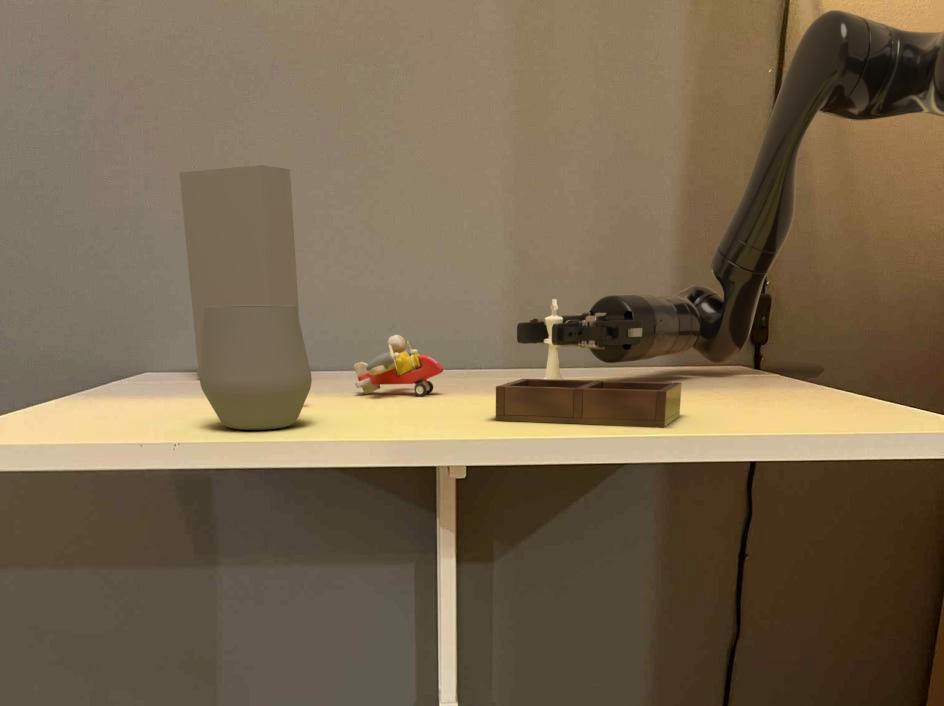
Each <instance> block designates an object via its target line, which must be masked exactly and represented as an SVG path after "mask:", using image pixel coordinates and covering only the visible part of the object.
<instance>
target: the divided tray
mask: <svg viewBox="0 0 944 706" xmlns="http://www.w3.org/2000/svg"><path fill="white" fill-rule="evenodd" d="M681 400H682V382H677V381H675V382H672V381H638V380H637V381H636V380H635V381H633V380H629V381H628V380H597V379H596V380H595V379H593V380H592V379H562V380H559V379H542V378H521V379H517V380H514V381H513V380H512V381H510V382H507V383H502V384H499V385H496V386H495V421H502V422H526V423H550V424H551V423H553V424H571V425H572V424H574V425H575V424H576V425H577V424H578V425H597V426H598V425H600V426H601V425H602V426H621V427H622V426H624V427H626V426H627V427H646V428H647V427H650V428H665V427H667V426H668V425H669V424H671V423H672V422H673V421H674V420H677V418H679V417H680V415H681Z"/></svg>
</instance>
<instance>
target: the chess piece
mask: <svg viewBox="0 0 944 706" xmlns="http://www.w3.org/2000/svg"><path fill="white" fill-rule="evenodd" d="M549 306H550V310H551V315H550V314H549V316H546V317H545V318H544V319H545V323H546V326H547V331H548V334H549V337H548V338H549V339H545V341H544V343H545V344H548V352H547V361H546V366H545V367H546V369H545V374H544V377H542V378H541V379H559V380H564V377H562V376H561V371H560V360H559V347H558V345H553V344H552V326H553V324H555V323H562V322H563V318H562V317H559V316H558V315H559V314H557V312H558V311H557V310H559V305H558V299H557V298H552V299H551V304H550V305H549Z"/></svg>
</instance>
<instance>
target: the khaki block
mask: <svg viewBox="0 0 944 706" xmlns="http://www.w3.org/2000/svg"><path fill="white" fill-rule="evenodd" d="M291 182H292V180H291V169H290V168H284V167H278V166H271V165H263V164H262V165H261V164H260V165H259V164H258V165H248V166H237V167H236V166H235V167H227V168H225V167H223V168H214V169H202V170H192V171H181V172H180V171H179V184H180V194H181V204H182V214H183V215H182V216H183V226H184V234H185V235H184V236H185V247H186V257H187V267H188V268H187V269H188V277H189V286H190V287H189V288H190V297H191V299H190V300H191V308H192V318H193V328H194V339H195V340H194V341H195V348H196V349H195V350H196V351H195V352H196V360H197V367H196V376H197V378H200V365H201V351H202V336H203V322H204V308H205V307H206V306H239V305H294V306H296V309H297V313H298V318H299V319H300V309H299V295H298V294H299V293H298V277H297V261H296V260H297V259H296V246H295V245H296V244H295V228H294V215H293V214H294V213H293V198H292V183H291Z"/></svg>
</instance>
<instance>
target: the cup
mask: <svg viewBox="0 0 944 706" xmlns="http://www.w3.org/2000/svg"><path fill="white" fill-rule="evenodd" d="M312 379H313V378H312V372H311V368H310V363H309V358H308V354H307V350H306V346H305V340H304V336H303V332H302V328H301V322H300V317H299V318H298V313H297V309H296V306H294V305H239V306H206V307H205V308H204V322H203V336H202V351H201V365H200V377H199V384H200V388H201V390H202V393H203V394H204V396H205V398H206V399H207V401H208V403H209V404H210V406H211V408H212V409H213V411H214V413H215V414H216V416H217V417H218V419H219V421H220V422H221V424H222V425H224V427H227V428H230V429H234V430H241V431H242V430H243V431H266V430H276V429H283V428H286V427H290V426H292V425H294V424H295V423H296V422H297V420H298V419H299V417H300V414H301V412H302V410H303V408H304V405H305V403H306V400H307V398H308V396H309V393H310V390H311V388H312V382H313V381H312Z"/></svg>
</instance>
